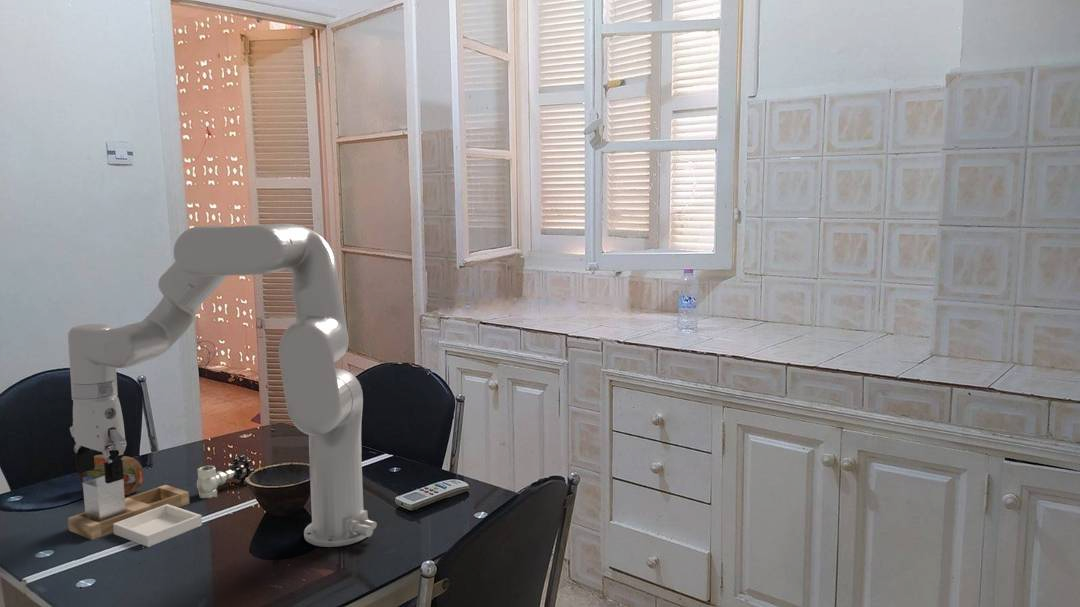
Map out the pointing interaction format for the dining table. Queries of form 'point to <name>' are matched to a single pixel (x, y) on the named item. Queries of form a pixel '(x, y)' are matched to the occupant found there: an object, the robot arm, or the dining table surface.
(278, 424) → the dining table surface
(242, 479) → the valve
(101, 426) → the robot arm
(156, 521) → the dish
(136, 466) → the tin
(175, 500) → the wooden compartment tray
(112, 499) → the gray rectangular block
